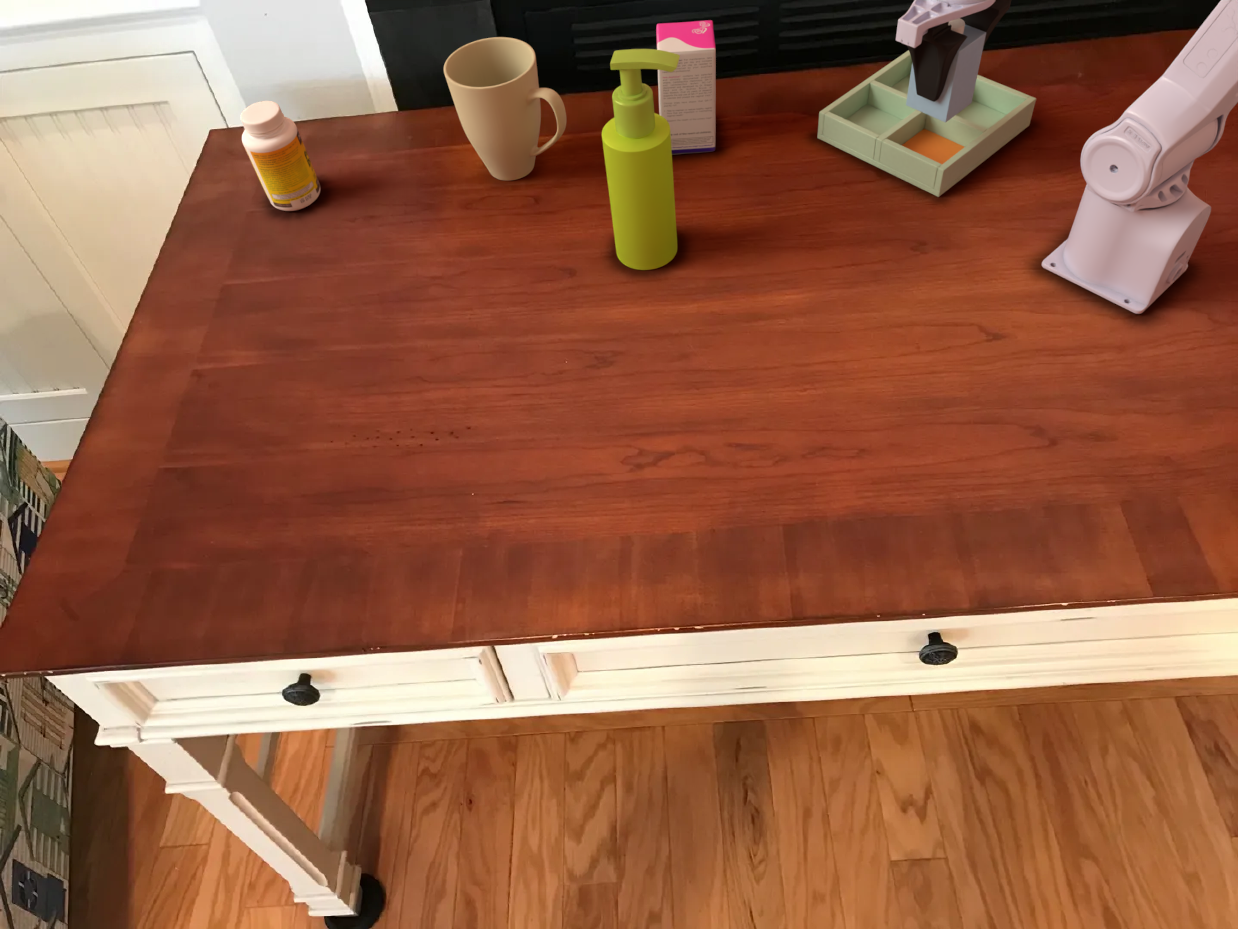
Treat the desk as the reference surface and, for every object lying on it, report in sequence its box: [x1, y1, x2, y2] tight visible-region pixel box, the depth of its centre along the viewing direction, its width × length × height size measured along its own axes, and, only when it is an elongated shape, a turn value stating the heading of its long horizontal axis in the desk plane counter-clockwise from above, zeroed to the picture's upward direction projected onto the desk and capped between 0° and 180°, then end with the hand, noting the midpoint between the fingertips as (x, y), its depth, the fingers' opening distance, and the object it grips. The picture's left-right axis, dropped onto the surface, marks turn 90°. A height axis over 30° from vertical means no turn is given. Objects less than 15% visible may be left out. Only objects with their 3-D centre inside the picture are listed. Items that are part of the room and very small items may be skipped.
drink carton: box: [906, 18, 986, 122], centre depth 89 cm, size 4×4×8 cm
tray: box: [816, 49, 1037, 198], centre depth 100 cm, size 15×15×3 cm
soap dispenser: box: [601, 48, 680, 271], centre depth 86 cm, size 6×7×20 cm
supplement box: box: [655, 19, 717, 156], centre depth 100 cm, size 6×6×12 cm
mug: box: [443, 36, 567, 182], centre depth 99 cm, size 11×10×12 cm
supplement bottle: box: [240, 100, 322, 212], centre depth 101 cm, size 6×6×10 cm
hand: (943, 85), depth 91 cm, fingers closed on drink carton, 4 cm apart
